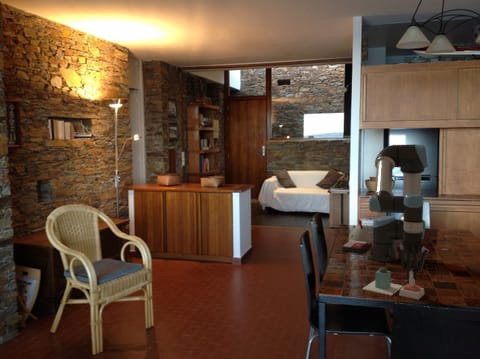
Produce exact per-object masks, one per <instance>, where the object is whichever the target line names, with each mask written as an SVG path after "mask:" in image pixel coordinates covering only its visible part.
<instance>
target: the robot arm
mask: <svg viewBox="0 0 480 359" xmlns="http://www.w3.org/2000/svg"><path fill="white" fill-rule="evenodd" d="M374 167H375V169H376V174H375V186H374V187H375V188H374V195H370V196H369V198H368V200H369V201H368V202H369V204H368V207H369V209H368V210H369V211H370V212H372V213H381V214H383V213H385V214H386V213H388V214H392V213H393V214H400V215H399V218H396V217H395V216H394V215H384V216H378V217H375V218H374V219H373V221H372V245H371V247H370V251H369V253H368V254H369V257H368V258H369V259H370V260H373V261H376V262H381V263H382V262H383V263H385V262H386V263H391V262H397V261H398V260H399V257H400V261H401V266H402V269H405V270H406V278H408V279H409V280H408V281H409V283H408V284H409V287H413V286H415V285H416V280H417V279H418V272H421V271H422V270H423V267H424V264H425V261H426V257H427V254H428V253H429V252H430V249H429V248H426V247H425V245H424V244H423V240H424V237H425V232H426V221H425V220H424V217H423V216H424V197H423V195H421V193H422V192H421V191H422V189H421V186H422V185H421V184H422V174H424V172H425V169H427V168H428V167H429V166H428V156H427V149H426V145H424V144H417V143H416V144H392V145H388V146H386V147H384V148H382V149H381V150H380V151H379V152H378V155H376V157H375V160H374ZM395 168H399V170H400V173H402V176H403V177H402V196H400V195H398V196H397V195H393V193H392V192H393V191H392V190H393V173H394V172H393V170H394V169H395ZM396 241H399V242H402V243H401V244H399V245H395V244H396ZM404 249H405V250H404ZM397 250H398V251H397ZM405 251H406V255H405ZM420 251H421V252H422V253H421V256H420V259H419V253H420ZM412 258H413V260H412Z"/></svg>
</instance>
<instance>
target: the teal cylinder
mask: <svg viewBox="0 0 480 359" xmlns="http://www.w3.org/2000/svg"><path fill="white" fill-rule="evenodd" d="M391 275H392V273H391V271H390V270H388V269H387V267H379V269H377V271H375V278H374V281H375V287H376V288H381V289H385V290H387V289H388V288H389V287H390V284H391V283H392V281H391Z"/></svg>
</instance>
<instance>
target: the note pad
mask: <svg viewBox="0 0 480 359" xmlns="http://www.w3.org/2000/svg"><path fill="white" fill-rule="evenodd" d="M402 287H404V285H401V284H397V283H392V282H391V284H390V287H389V288H388V289H387V290H385V289H381V288H376V287H375V280H373V281H372V282H370V283H368V284H367V285H365V286H364V287H362V290H363V291H367V292H371V293H378V294H382V295H387V296H390V297H391V296H393V295H394V294H395V293H397V292H398V291H400V289H401V288H402Z"/></svg>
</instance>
